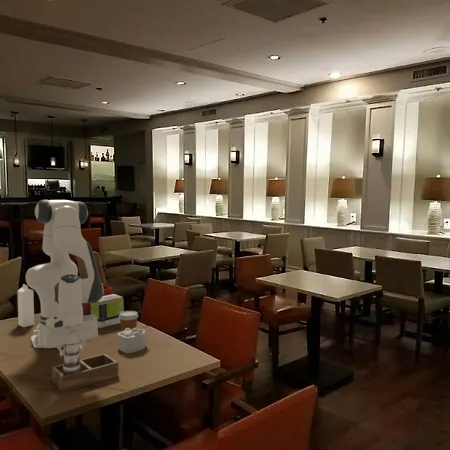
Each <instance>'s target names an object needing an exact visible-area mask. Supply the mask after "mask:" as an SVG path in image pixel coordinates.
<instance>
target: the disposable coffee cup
mask: <svg viewBox="0 0 450 450" xmlns="http://www.w3.org/2000/svg"><path fill="white" fill-rule="evenodd" d="M119 318H120V323H119V324H120V329H121V332H122V331H124V330H125V329H126V328H130V329H134V328H137V323H138V318H139V314H138V312H137V311H135V310H126V311H125V310H124V312H121V313H120V315H119Z"/></svg>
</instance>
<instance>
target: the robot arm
mask: <svg viewBox="0 0 450 450" xmlns="http://www.w3.org/2000/svg"><path fill="white" fill-rule="evenodd" d="M34 216H35V217H36V221H38V223H40V224H44V228H43V236H42V237H43V238H42V249H41V250H42V251H43V253H44V254H46V255H47V256H50V262H47V263H42V264H37V265H35V266H32V267H30V268H28V270H27V271H26V273H25V282H26V285H27V286H28V287H30V289H31V290H33V291H35V292H36V293H37V295H38V298H39V301H40V317H39V323H38V324H37V325H36V326H35V329H34V330H32V335H31V337H30V340H31V343H32V346H33V348H35V349H39V348H41V349H55V348H56V349H58V351H59V356H60V357H63V356H64V355H65V351H64V349H62V348H63V345H64V344H66V342H67V340H68V338H69V337H70V336H71V335H72V334H73V333H70V329H75V328H76V332H74V334H77V335H78V336H79V337H80V339H81V342H80V349H79V353H80V352H81V353H82V352H84V351H85V349H84V347H85V345H86V344H87V340H89V339H93V338H97V336H98V335H99V330H98V329H99V328H98V327H97V316H96V315H94V314H90V315H84V316H83V307H82V303H96V302H98V301H99V300H100V299H101V298H102V297H103V285H102V284H103V283H102V280H101V277H100V273H99V271H98V267H97V262H96V259H95V255H94V252H93V249H92V248H93V247H92V246H91V244H90V242H89V241H87V240H86V239H85V238H84V237H83V235H82V230H81V225H83V224H85V222H86V221H87V219H88V216H89V210H88V206H87V204H86V203H84V202H82V201H74V200H68V199H49V200H48V199H42V200H41V199H40V200H39V201H37V203H36V206H35V207H34ZM69 254H70V255H72V256H76V257H78V258H80V259H81V260H83V262H84V265H85V269H86V274H87V277H86V278H81V276H79V275H78V272H79V269H78V266H77V264H76V263H75V262H74V261H73V260H72V259H71V257H70V255H69Z"/></svg>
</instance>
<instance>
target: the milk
mask: <svg viewBox="0 0 450 450" xmlns="http://www.w3.org/2000/svg"><path fill="white" fill-rule="evenodd" d="M34 301H35V300H34V289H31V288H29V285H28V284H25V283H23V284H22V287H20V288H19V289H18V290H17V312H18V313H17V315H18V317H17V319H18V326H20V327H22V328H26V327H30V326H34V325H35V307H34V306H35V305H34V303H35V302H34Z"/></svg>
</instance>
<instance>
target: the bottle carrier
mask: <svg viewBox="0 0 450 450" xmlns="http://www.w3.org/2000/svg"><path fill="white" fill-rule="evenodd" d="M79 360H80V366H81V372H77V373H74V374H70V375H66V376H64V375H63V366H64V363H63V364H62V363H61V364H58V365H53V366H51V382H52V383H53V384H54V385H55V386H56V387H57V388H58V389H59V390H60V391H61V392H63V393H66V392H69V391H72V390H76V389H79V388H83V387H86V386H90V385H92V384H96V383H99V382H102V381H106V380H109V379H113V378H116V377H119V361H117V360H116V359H114V358H113V357H111V356H110V355H109V354H107V353H101V354H97V355H93V356H88V357H85V358H81V359H79Z"/></svg>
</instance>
